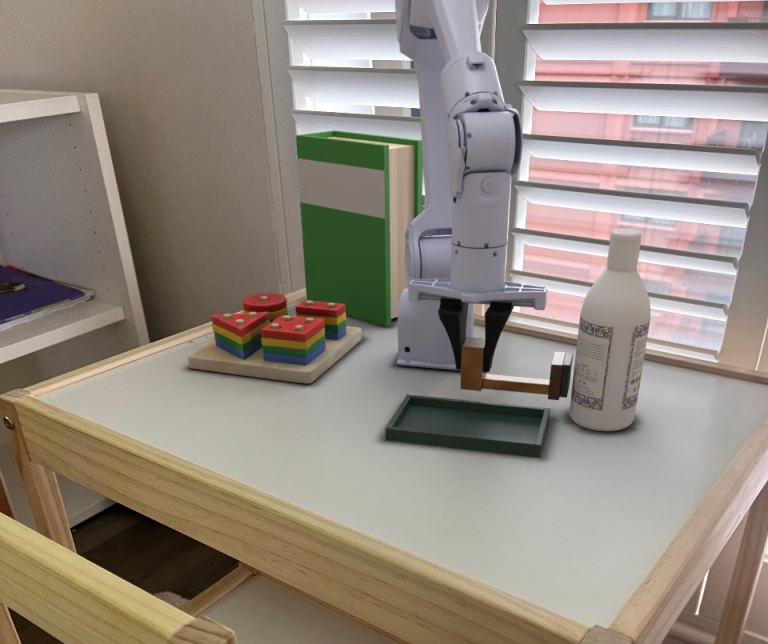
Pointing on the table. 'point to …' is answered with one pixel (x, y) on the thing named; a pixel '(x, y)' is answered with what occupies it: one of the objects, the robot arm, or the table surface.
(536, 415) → the brush tray
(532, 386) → the brown barbell-shaped piece
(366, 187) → the hardback book
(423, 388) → the table surface
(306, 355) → the shape sorter
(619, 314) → the bath foam
